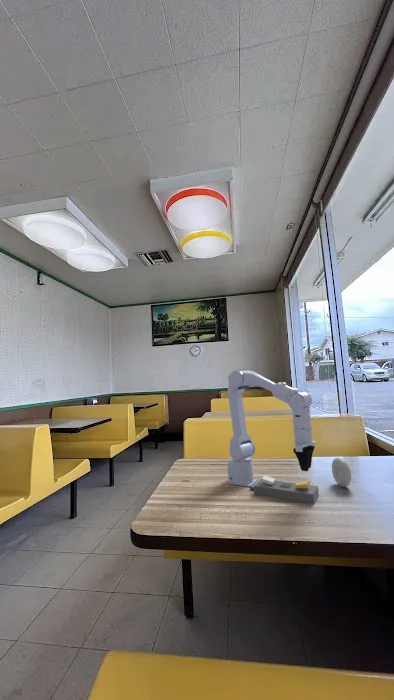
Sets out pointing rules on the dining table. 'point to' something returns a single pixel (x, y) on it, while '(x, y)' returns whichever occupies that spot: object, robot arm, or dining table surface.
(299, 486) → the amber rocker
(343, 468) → the grey round disc
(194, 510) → the dining table surface
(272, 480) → the white plug
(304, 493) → the power strip
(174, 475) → the dining table surface
